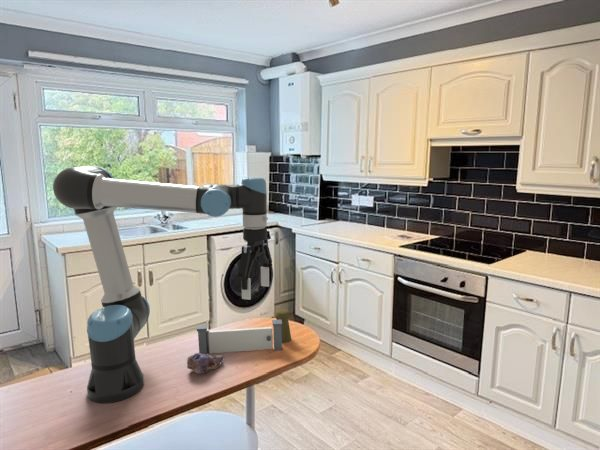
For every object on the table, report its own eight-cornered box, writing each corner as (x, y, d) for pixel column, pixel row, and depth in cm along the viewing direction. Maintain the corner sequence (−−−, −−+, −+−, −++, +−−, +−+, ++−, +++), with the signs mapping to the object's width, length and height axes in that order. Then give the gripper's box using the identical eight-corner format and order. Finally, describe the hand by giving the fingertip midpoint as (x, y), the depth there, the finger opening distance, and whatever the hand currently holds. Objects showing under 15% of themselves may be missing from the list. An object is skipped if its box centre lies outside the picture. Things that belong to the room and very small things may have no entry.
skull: (220, 359, 139) (219, 342, 138) (229, 369, 133) (228, 351, 132) (184, 370, 133) (183, 352, 132) (192, 380, 127) (190, 362, 126)
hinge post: (198, 356, 141) (196, 329, 140) (199, 351, 145) (197, 324, 143) (208, 355, 142) (206, 328, 140) (208, 351, 145) (207, 324, 144)
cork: (273, 336, 156) (273, 308, 154) (289, 335, 157) (289, 307, 155) (275, 343, 150) (275, 314, 148) (292, 342, 151) (291, 313, 149)
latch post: (273, 351, 144) (272, 324, 143) (272, 346, 148) (272, 320, 146) (282, 350, 145) (282, 323, 143) (282, 345, 148) (281, 319, 147)
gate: (206, 355, 142) (205, 333, 140) (207, 352, 144) (206, 330, 143) (273, 350, 144) (272, 329, 143) (272, 347, 147) (271, 326, 145)
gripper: (247, 235, 119) (248, 306, 122) (281, 221, 142) (281, 282, 146) (224, 233, 121) (226, 303, 125) (261, 220, 145) (262, 280, 148)
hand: (256, 292), depth 135 cm, fingers open, 13 cm apart
